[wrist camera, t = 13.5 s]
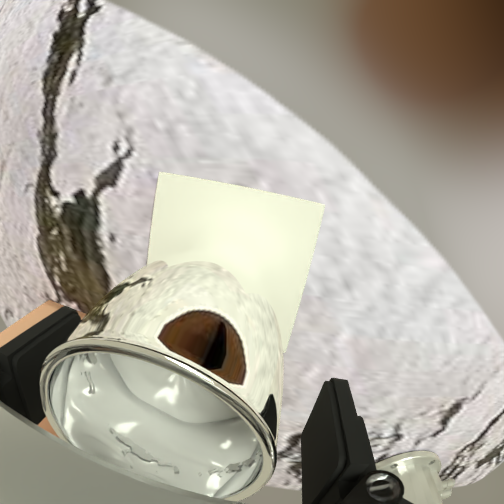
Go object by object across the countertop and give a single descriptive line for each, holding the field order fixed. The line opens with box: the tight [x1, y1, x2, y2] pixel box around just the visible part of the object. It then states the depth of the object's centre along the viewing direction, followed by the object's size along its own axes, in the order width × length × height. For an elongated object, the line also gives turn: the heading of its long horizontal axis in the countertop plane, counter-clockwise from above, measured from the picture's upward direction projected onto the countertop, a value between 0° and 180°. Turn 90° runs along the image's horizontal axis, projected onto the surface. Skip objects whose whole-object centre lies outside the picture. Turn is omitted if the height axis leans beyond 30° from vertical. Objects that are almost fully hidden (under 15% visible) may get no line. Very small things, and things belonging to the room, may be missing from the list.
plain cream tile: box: [147, 172, 325, 353], centre depth 21 cm, size 11×11×1 cm
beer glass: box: [38, 224, 284, 502], centre depth 13 cm, size 7×7×15 cm
